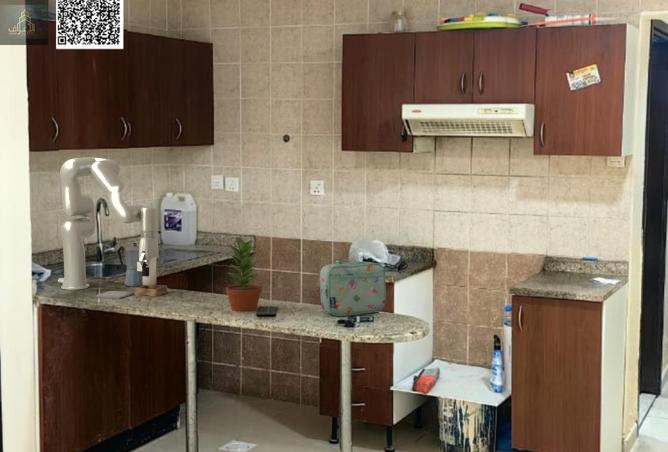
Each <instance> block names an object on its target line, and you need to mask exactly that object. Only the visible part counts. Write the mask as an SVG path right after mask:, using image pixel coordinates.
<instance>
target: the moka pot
mask: <svg viewBox="0 0 668 452" xmlns="http://www.w3.org/2000/svg"><path fill="white" fill-rule="evenodd" d="M121 251H123V252H124V255H125V263H123V262H124V261H123V259H122V258H123V257H122V255H121ZM116 252H117V255H118V259H119V263H120V266H122V267H126V271H125V279H124V285H125V286H126V287H133V288H136V287H141V286H144V285H143V276H142V271H137V262H140V261H139V246H137V242H133V246H122V245H121V246H119V247H118V250H116Z"/></svg>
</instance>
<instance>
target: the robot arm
mask: <svg viewBox="0 0 668 452" xmlns="http://www.w3.org/2000/svg"><path fill="white" fill-rule="evenodd" d="M120 172H121V170H120V166H119V164H118V162H117V161H115V160H114V159H109V158H102V157H93V156H92V157H91V156H90V157H89V156H86V157H75V158H70V159H68V160H65V162H64V163H63V164H62V165H61V167H60V171H59V177H60V183H61V184H60V185H61V200H62V203H61V204H62V211H63V214H64V215H65V216H67V217H76V218H72V219H71V218H70V219H67V220H66V221H63V223H62V224H61V226H60V237H61V242H62V250H63V251H62V252H63V253H62V254H63V274H64V275H63V276H64V277H58V280H57V283H58V284H59V283H60V284H61V283H62V285H61V287H60V288H61V289H62V290H68V291H71V290H72V291H74V290H75V291H76V290H84V289H89V288H90V284H89V283H87V280H86V279H87V275H86V270H87V269H86V248H85V245H84V242H83V239H86V238H91V237H92V236H93V235H94V233H95V231H96V215H95V213H96V210H95V202H94V200H93V198H92V197H91V196H90V195H88V194H85V193H82V185H81V183H80V180H79V179H78V178H80V177H90V176H91V177H93V178H94V179H95V180H96V182H97V183H98V184H99V185H100V186H101V188H102V189H103V191H104V192H105V193H106V194H107V197H108V198H107V200H108V204H109V207H110V210H111V211H112V213H113V214H114V216H115V217H116V218H117V219H118V220H119V221H120V222H121V223H123V224H126V225H127V224H133V223H138V222H139V223H140V239H139V245H138V247H139V261H140V263H141V267H142V276H146V277H148V276H149V267H148V265H149V261H150V260H151V258H154V257H156V275H157V272H158V271H157V269H158V268H157V266H158V260H159V258H160V254H159V252H160V251H159V240H158V239H159V225H158V224H159V209H158V208H157V207H156V206H145V205H141V204H134V205H127V204H126V202H125V201H124V199H123V198H122V195H121V192H122V191H123V189H124V187H125V184H124V182H123V180H121V179H120V177H119V175H120ZM144 259H147V260H144ZM145 262H146V263H145ZM88 287H89V288H88Z"/></svg>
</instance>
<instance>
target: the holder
mask: <svg viewBox="0 0 668 452" xmlns="http://www.w3.org/2000/svg"><path fill="white" fill-rule="evenodd" d="M166 292H167V293H168V285H159V284H155V285H143V286H137V287H134V296H140V295H150V296H149V297H158V296H157V295H159V296H161V295H164V294H167V293H166ZM163 293H164V294H163ZM160 294H161V295H160Z"/></svg>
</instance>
